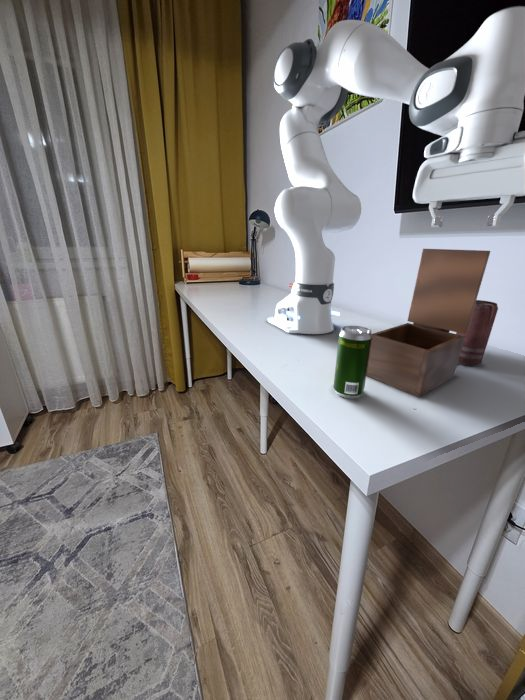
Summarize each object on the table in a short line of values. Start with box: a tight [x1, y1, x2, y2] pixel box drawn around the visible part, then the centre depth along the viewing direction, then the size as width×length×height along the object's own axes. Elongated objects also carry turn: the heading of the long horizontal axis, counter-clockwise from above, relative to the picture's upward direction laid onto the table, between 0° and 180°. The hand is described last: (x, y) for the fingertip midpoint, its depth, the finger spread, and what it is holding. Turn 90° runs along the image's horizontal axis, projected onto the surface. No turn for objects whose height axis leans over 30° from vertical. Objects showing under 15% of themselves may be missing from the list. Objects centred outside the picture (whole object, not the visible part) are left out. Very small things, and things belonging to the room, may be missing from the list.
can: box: [455, 299, 499, 367], centre depth 65 cm, size 6×6×14 cm
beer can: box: [333, 325, 372, 400], centre depth 51 cm, size 5×5×12 cm
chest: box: [366, 322, 465, 398], centre depth 58 cm, size 15×12×9 cm
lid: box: [407, 248, 491, 334], centre depth 59 cm, size 15×12×5 cm
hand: (462, 226), depth 55 cm, fingers open, 8 cm apart
